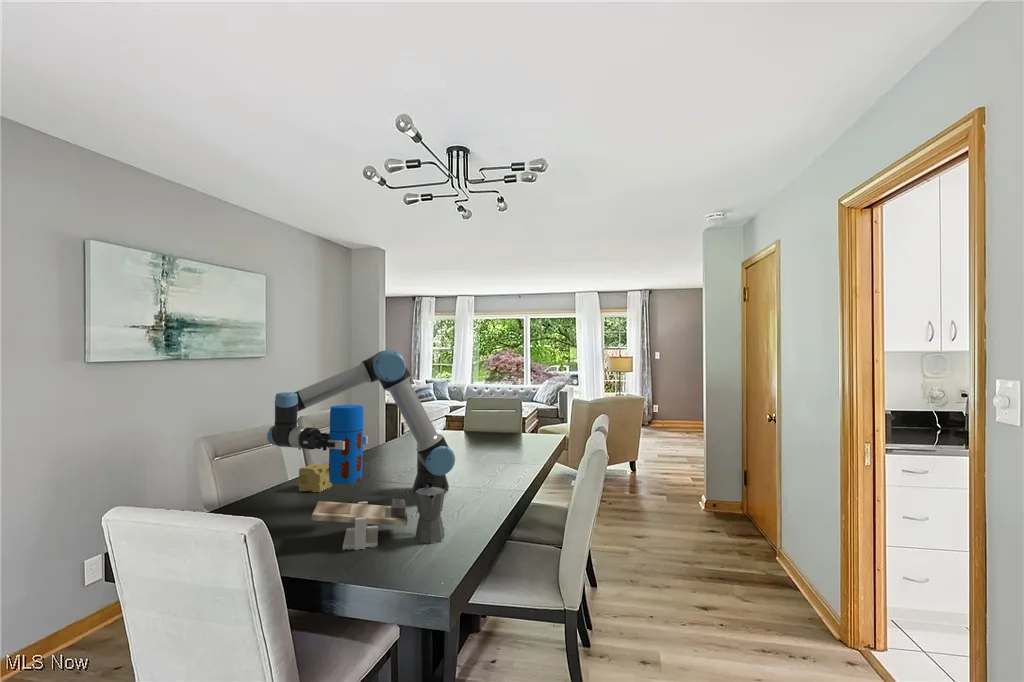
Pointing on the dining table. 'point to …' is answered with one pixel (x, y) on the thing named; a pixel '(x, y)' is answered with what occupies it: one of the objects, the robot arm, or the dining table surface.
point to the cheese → (314, 478)
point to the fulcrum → (361, 534)
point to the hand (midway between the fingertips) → (355, 442)
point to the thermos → (346, 444)
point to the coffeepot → (429, 514)
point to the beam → (362, 512)
